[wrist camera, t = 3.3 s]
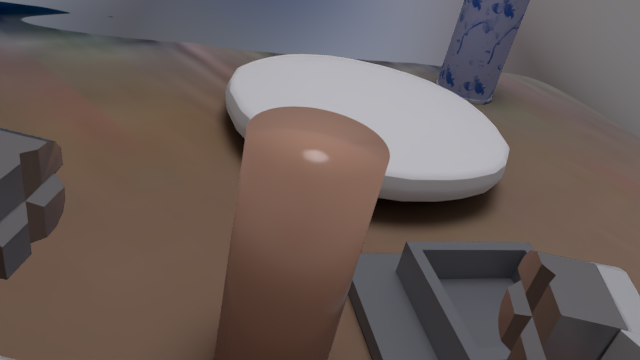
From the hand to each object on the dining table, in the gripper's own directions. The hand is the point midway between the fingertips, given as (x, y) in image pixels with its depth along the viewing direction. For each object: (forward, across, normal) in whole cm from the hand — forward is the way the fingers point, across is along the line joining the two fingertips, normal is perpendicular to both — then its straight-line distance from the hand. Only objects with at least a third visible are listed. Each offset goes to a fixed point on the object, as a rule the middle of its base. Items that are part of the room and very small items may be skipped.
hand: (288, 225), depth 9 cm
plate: (+41, -3, +19) cm, 45 cm away
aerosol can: (+63, -16, +18) cm, 68 cm away
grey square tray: (+18, -13, +18) cm, 29 cm away
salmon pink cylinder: (+12, 0, +18) cm, 22 cm away
